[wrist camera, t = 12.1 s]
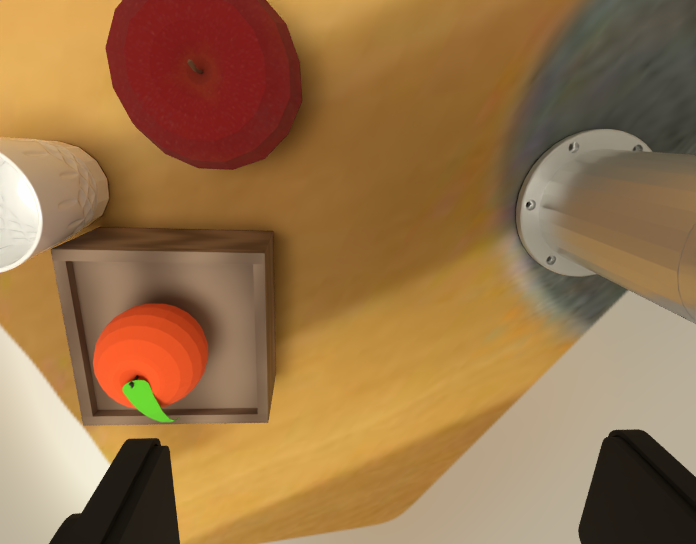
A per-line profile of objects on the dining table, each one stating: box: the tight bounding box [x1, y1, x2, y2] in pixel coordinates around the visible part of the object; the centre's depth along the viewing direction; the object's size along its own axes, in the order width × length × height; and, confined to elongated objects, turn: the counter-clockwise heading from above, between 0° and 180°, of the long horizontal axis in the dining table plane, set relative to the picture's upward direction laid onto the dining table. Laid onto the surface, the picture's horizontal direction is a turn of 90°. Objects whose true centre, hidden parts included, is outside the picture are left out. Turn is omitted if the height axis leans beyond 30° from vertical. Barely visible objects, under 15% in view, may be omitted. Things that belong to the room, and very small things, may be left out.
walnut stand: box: [51, 227, 275, 426], centre depth 34 cm, size 14×14×7 cm
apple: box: [106, 0, 302, 170], centre depth 26 cm, size 11×11×12 cm
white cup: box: [0, 137, 109, 272], centre depth 29 cm, size 8×8×10 cm
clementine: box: [93, 303, 208, 422], centre depth 28 cm, size 8×7×7 cm
